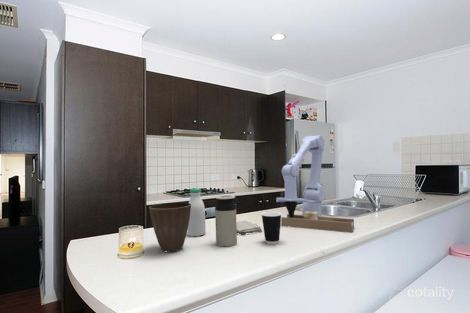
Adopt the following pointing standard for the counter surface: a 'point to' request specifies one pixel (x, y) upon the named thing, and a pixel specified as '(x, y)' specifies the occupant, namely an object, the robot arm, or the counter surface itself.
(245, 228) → the washcloth
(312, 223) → the trap track
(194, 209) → the milk bottle
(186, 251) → the counter surface
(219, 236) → the travel mug
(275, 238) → the dixie cup
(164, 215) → the plant pot
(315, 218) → the maple block
